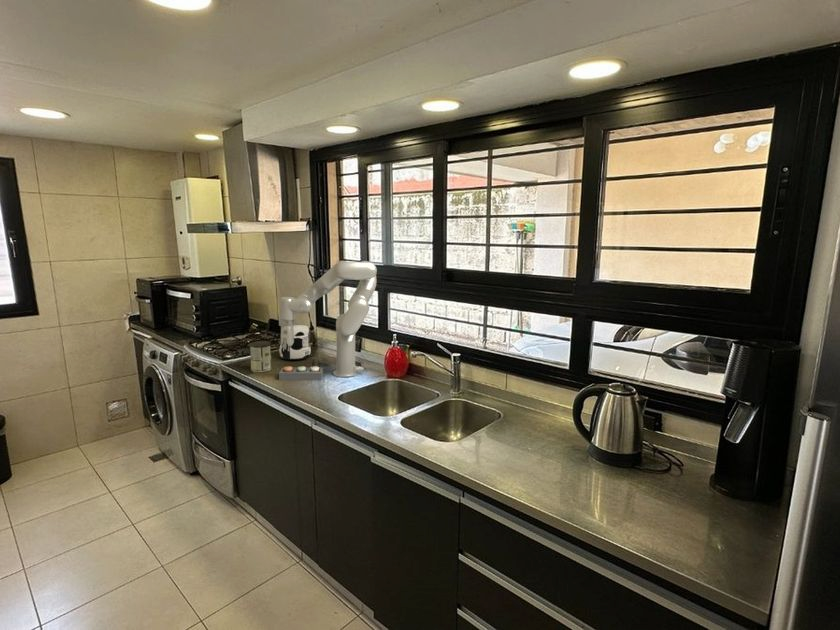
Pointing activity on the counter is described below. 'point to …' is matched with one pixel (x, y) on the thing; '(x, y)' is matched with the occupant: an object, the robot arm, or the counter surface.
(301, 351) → the milk container
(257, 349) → the coffee can
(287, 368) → the terracotta button
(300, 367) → the green button
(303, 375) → the button panel
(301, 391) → the counter surface
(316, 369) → the cream button
